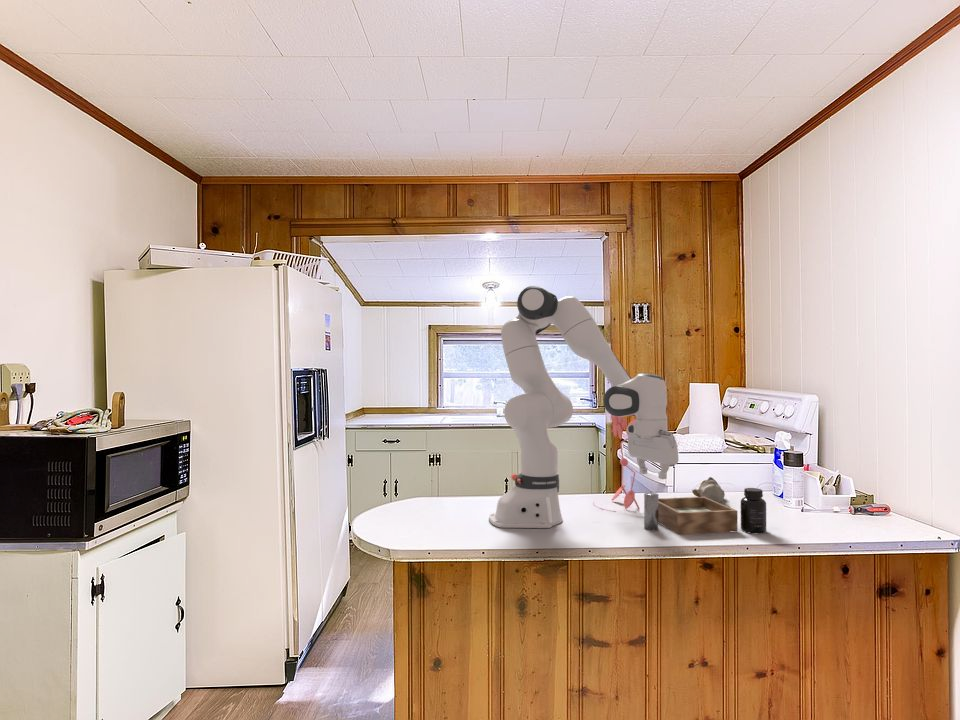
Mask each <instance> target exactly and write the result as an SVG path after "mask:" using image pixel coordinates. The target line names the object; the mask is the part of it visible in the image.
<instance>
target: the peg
mask: <svg viewBox="0 0 960 720" xmlns="http://www.w3.org/2000/svg"><path fill="white" fill-rule="evenodd" d="M643 495H644V496H643V499H644V500H643V501H644V502H643V504H644V505H643V506H644V507H643V509H644V510H643V512H644V513H643V515H644V516H643V517H644V518H643V529H644V530H647V531H658V530H659V522H658V498H659V493H656V492H645V493H643Z"/></svg>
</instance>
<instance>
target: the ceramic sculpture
mask: <svg viewBox="0 0 960 720" xmlns="http://www.w3.org/2000/svg"><path fill="white" fill-rule="evenodd" d="M691 491H692V494H693V495H694V497H706V498H709V499H711V500H713V501H716V502H718V503H720V504H722V503H723V501H724V498H725V495H726V494H725V491H724V490H723V488H722V487H721V486H720V484H719V482H717V480H716V479H714V478H713V477H711V476H710V477H708V478H707V479H704V480H703V481H702V482H700V485H699V487H698V489H696V488H694V489H692V490H691Z"/></svg>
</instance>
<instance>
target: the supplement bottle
mask: <svg viewBox="0 0 960 720" xmlns="http://www.w3.org/2000/svg"><path fill="white" fill-rule="evenodd" d="M763 492H764V491H763V489H761V488H757V487H746V488H745V487H744V491H743V495H744V497H742V498H741V499H740V530H741V531H742V530H743V531H742V532H744V531H745V532H744V533H747V532H750V533H749V534H752V533H762V534H765V533H766V532H767V502H766V500H765V499H763V497H764V494H763Z"/></svg>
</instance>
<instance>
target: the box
mask: <svg viewBox="0 0 960 720" xmlns="http://www.w3.org/2000/svg"><path fill="white" fill-rule="evenodd" d="M658 524H661V525H662V526H664V527H666V528H667V529H669V530H670V531H673V532H674V533H676V534H677V535H694V534H695V535H696V534H713V533H714V532H719V533H731V532H730V531H737V532H738V510H737V509H734V508H732V507H730V506H727V505H725V504H722V503H718V502H716V501H713V500H711V499H709V498H706V497H697V496H691V497H690V496H688V497H685V496H684V497H666V498H665V497H664V498H663V497H662V498H661V497H660V498H659V497H658ZM714 534H715V533H714Z"/></svg>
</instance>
